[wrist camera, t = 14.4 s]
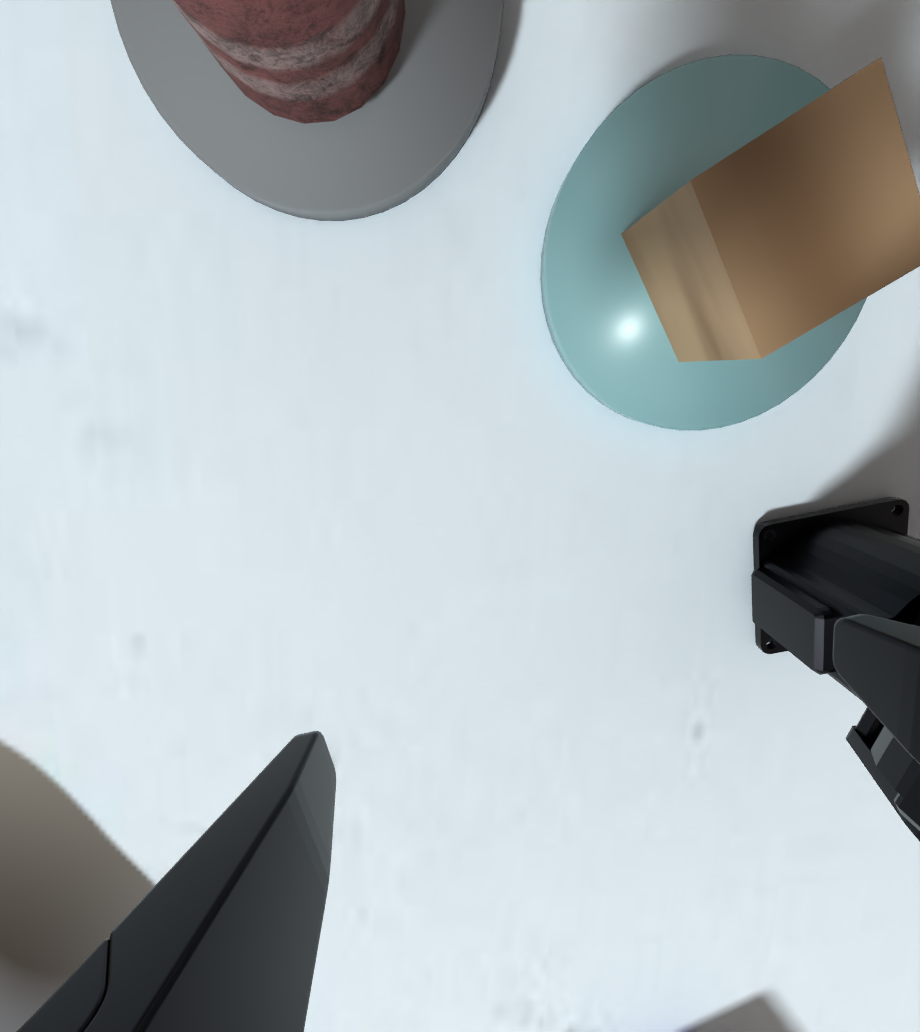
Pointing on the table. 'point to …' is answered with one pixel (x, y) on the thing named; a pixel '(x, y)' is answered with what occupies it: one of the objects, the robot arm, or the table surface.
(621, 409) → the teal mat
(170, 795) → the table surface
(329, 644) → the table surface
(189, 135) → the charcoal mat
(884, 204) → the walnut block
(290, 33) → the can
